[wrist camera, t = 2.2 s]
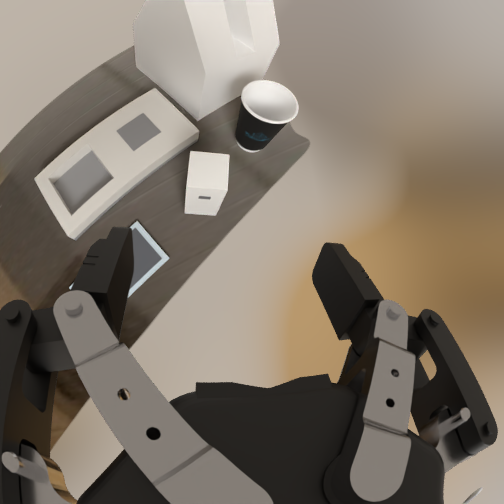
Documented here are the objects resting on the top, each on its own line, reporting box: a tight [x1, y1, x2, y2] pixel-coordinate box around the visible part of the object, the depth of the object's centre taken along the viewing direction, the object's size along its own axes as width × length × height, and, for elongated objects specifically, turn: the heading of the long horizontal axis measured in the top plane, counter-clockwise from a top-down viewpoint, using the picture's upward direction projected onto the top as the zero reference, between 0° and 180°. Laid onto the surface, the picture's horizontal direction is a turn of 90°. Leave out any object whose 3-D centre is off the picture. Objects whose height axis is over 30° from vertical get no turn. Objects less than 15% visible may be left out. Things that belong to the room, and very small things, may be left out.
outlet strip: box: [34, 88, 199, 240], centre depth 34 cm, size 24×12×3 cm, turn 134°
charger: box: [185, 151, 229, 216], centre depth 34 cm, size 5×4×10 cm
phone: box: [69, 221, 169, 297], centre depth 34 cm, size 14×7×1 cm, turn 135°
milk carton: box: [133, 0, 279, 121], centre depth 30 cm, size 19×15×25 cm
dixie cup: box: [236, 80, 299, 152], centre depth 37 cm, size 8×8×11 cm
